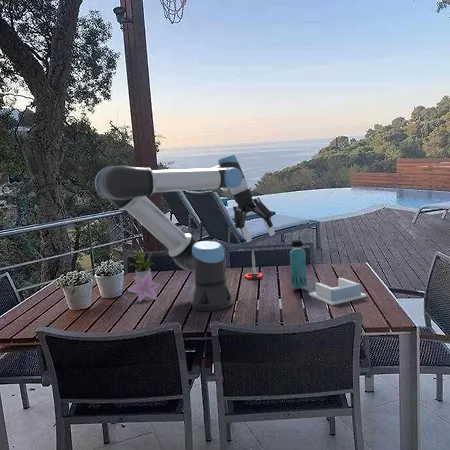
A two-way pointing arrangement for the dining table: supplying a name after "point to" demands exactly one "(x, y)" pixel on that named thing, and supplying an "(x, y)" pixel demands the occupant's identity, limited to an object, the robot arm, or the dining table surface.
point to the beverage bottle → (298, 265)
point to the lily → (144, 287)
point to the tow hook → (253, 271)
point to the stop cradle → (338, 292)
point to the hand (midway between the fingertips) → (260, 238)
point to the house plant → (141, 264)
